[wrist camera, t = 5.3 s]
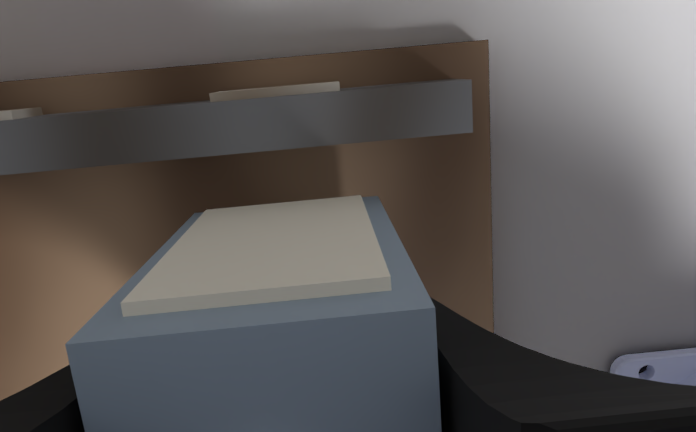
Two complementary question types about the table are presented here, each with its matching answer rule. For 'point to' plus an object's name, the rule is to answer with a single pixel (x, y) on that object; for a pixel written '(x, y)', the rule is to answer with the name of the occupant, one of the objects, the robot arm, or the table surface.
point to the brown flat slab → (233, 173)
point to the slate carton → (266, 328)
